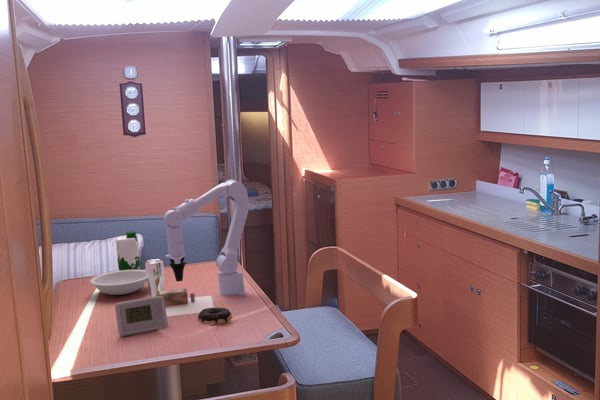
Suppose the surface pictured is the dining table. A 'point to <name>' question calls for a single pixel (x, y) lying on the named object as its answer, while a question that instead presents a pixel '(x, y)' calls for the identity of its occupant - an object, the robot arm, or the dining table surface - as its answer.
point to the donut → (214, 316)
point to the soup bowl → (120, 281)
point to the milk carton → (128, 252)
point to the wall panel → (190, 306)
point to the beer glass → (155, 276)
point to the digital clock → (141, 315)
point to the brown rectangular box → (174, 297)
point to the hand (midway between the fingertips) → (179, 278)
